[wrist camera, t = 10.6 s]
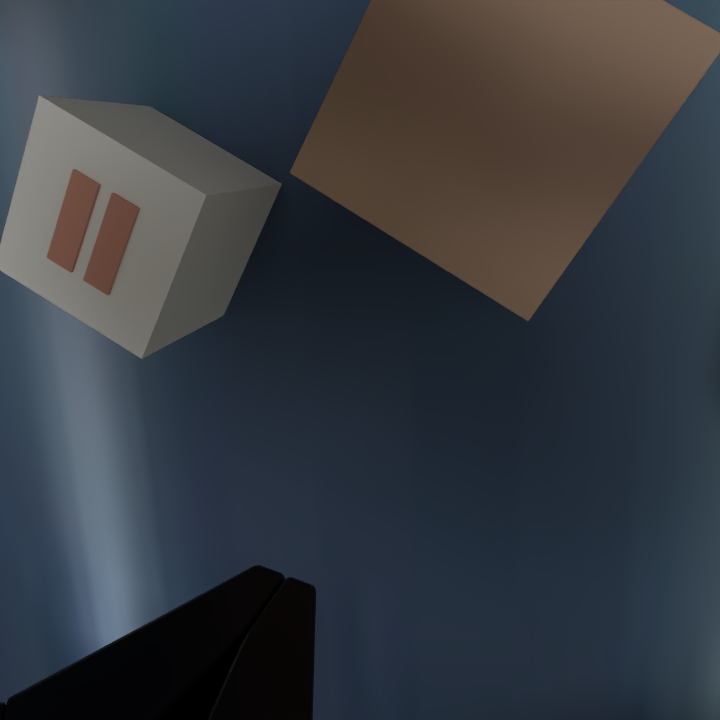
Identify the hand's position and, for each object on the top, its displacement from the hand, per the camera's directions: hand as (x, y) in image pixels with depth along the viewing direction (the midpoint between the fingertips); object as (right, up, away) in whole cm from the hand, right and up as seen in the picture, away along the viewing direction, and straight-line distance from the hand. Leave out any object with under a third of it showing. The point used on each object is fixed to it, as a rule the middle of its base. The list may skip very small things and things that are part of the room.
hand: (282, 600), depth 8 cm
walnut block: (+5, +10, +10) cm, 15 cm away
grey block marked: (-5, +8, +13) cm, 16 cm away
